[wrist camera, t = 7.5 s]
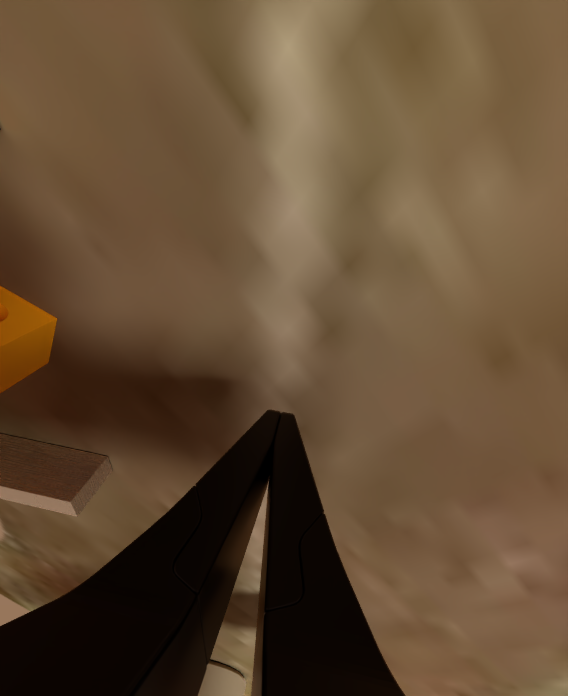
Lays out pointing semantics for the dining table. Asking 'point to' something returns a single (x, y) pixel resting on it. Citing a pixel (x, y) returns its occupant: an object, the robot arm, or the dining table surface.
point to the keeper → (49, 474)
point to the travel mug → (222, 681)
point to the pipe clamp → (22, 338)
